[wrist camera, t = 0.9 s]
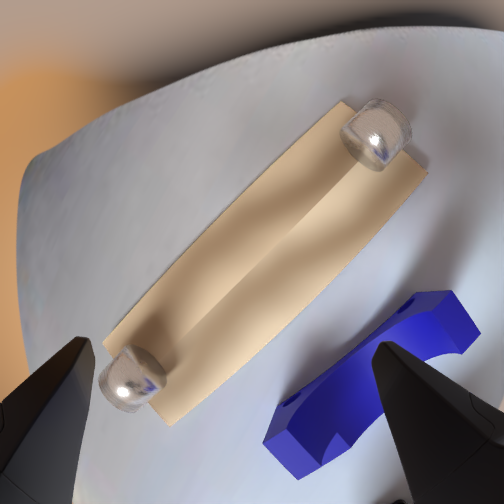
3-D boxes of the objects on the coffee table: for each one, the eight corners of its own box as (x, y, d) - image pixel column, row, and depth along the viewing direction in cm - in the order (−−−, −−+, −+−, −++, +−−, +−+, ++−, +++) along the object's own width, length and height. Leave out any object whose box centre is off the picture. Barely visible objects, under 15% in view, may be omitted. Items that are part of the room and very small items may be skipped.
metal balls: (404, 151, 19) (418, 125, 15) (149, 404, 20) (122, 419, 16) (364, 118, 20) (371, 89, 16) (118, 366, 21) (89, 374, 17)
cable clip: (315, 449, 18) (314, 496, 13) (276, 406, 19) (262, 443, 14) (450, 340, 18) (493, 353, 12) (415, 292, 19) (451, 290, 13)
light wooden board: (423, 179, 19) (428, 173, 18) (176, 421, 20) (169, 427, 19) (340, 109, 21) (340, 100, 20) (111, 341, 22) (102, 342, 21)
